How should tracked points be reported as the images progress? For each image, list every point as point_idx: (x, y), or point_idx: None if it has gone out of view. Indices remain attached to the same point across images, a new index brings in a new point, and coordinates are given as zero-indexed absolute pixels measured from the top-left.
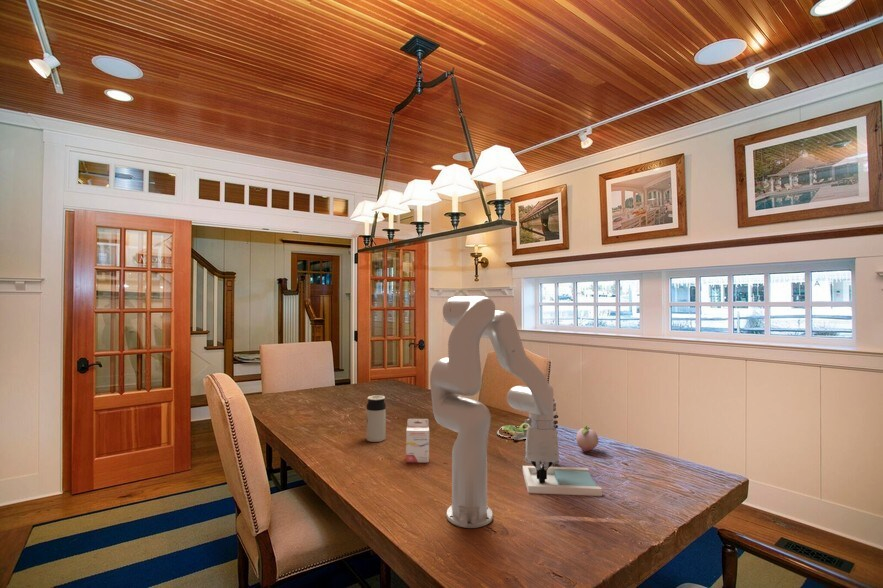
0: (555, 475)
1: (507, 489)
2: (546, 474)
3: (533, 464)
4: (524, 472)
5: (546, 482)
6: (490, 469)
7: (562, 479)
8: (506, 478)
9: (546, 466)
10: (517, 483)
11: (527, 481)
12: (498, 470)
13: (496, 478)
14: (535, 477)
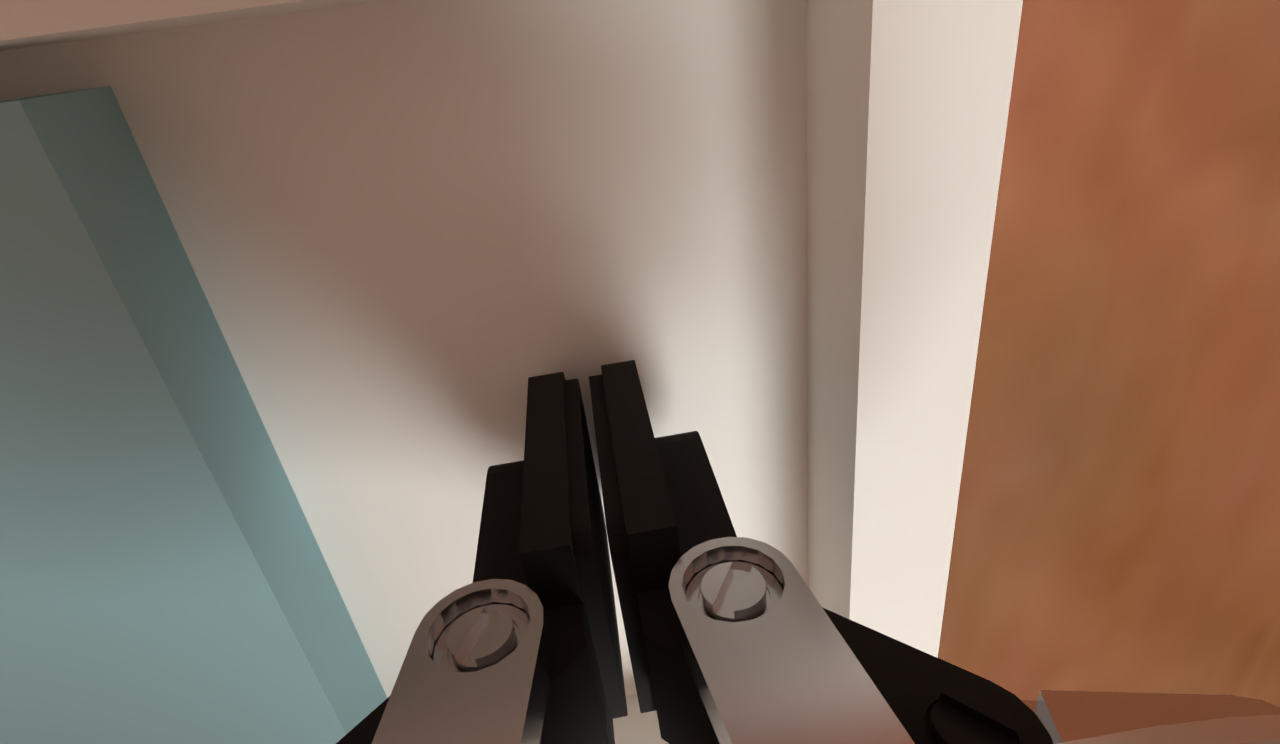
0: (344, 676)
1: (1245, 80)
2: (487, 526)
3: (932, 675)
4: (948, 569)
5: (503, 445)
6: (1240, 676)
7: (112, 502)
8: (1118, 498)
9: (455, 689)
10: (994, 376)
11: (996, 99)
12: (1149, 678)
13: (1266, 461)
14: None
